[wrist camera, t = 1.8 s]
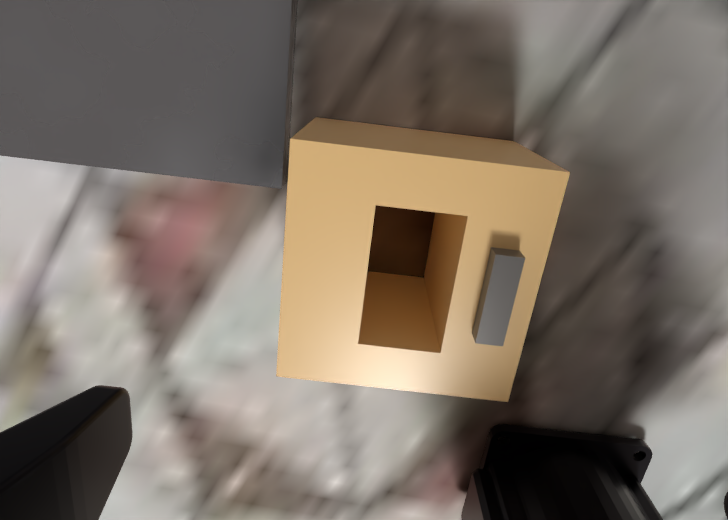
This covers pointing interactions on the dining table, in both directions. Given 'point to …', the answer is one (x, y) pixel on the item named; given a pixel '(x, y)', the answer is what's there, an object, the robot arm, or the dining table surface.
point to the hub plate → (150, 85)
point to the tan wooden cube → (443, 267)
